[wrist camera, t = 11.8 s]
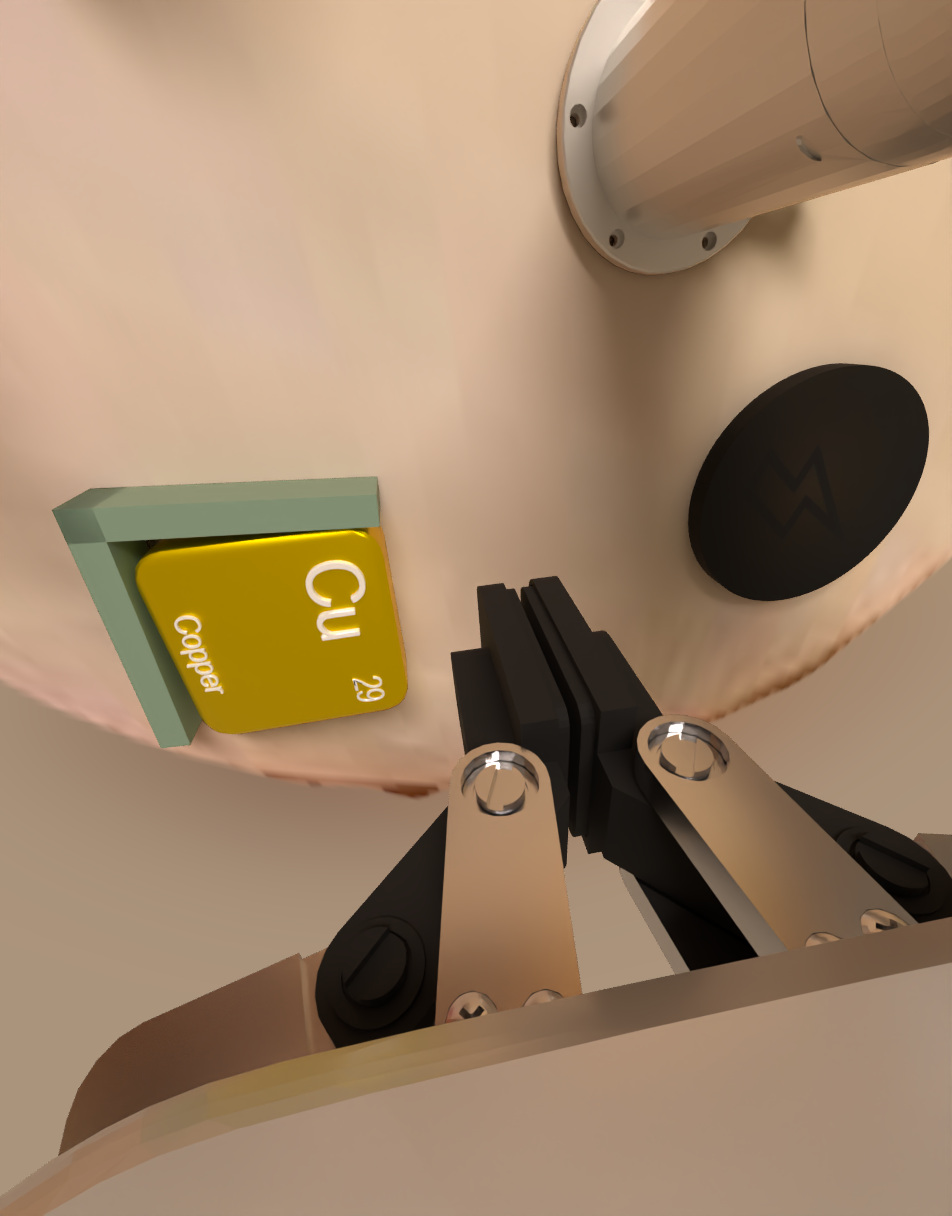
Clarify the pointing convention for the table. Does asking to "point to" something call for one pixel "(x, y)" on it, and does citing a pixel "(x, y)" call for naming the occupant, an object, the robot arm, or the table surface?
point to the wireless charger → (808, 480)
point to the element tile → (278, 625)
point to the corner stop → (127, 516)
